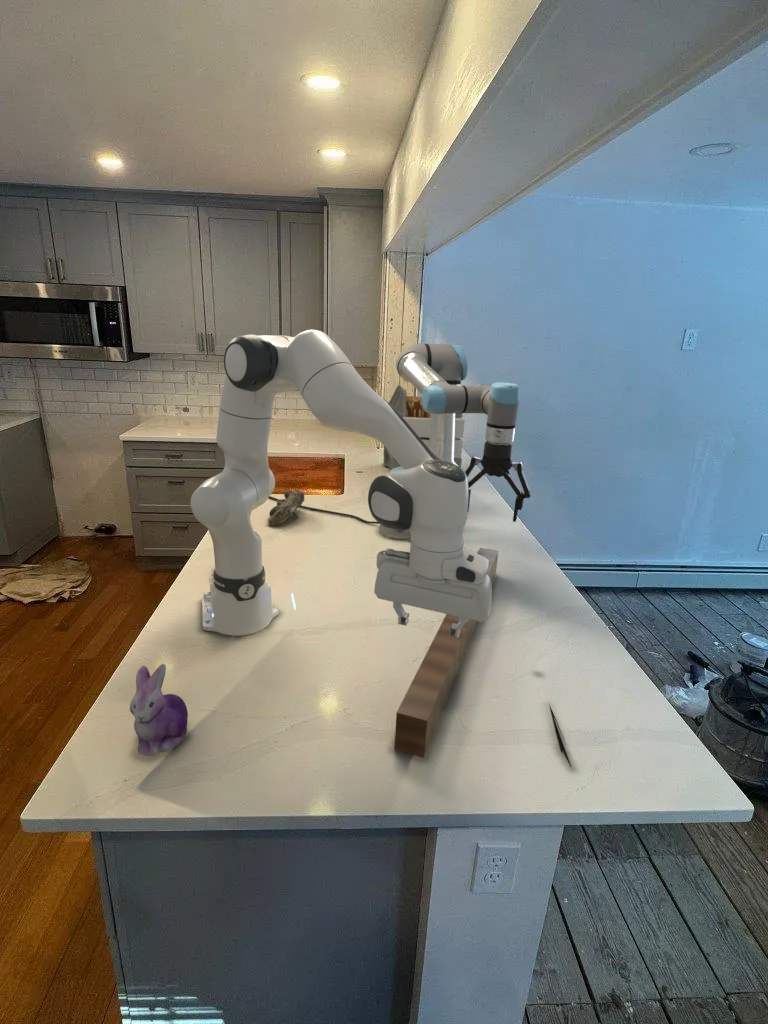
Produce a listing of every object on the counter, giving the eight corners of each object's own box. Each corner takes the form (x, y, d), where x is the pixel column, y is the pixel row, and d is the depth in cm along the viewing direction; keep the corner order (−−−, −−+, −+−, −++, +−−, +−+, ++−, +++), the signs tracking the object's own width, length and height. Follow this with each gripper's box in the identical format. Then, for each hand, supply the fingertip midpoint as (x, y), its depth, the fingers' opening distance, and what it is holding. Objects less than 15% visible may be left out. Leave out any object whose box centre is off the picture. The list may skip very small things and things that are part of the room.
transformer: (382, 463, 289) (386, 382, 275) (445, 464, 293) (451, 384, 279) (390, 482, 257) (394, 392, 243) (460, 483, 261) (468, 394, 247)
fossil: (273, 495, 220) (302, 475, 215) (290, 514, 223) (319, 494, 218) (257, 521, 200) (288, 499, 195) (275, 541, 203) (306, 520, 198)
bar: (477, 572, 173) (480, 547, 170) (495, 575, 171) (498, 550, 169) (394, 749, 102) (396, 712, 99) (424, 758, 100) (427, 720, 98)
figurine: (137, 767, 96) (127, 693, 90) (132, 728, 104) (122, 659, 99) (195, 750, 100) (189, 678, 95) (185, 714, 108) (179, 646, 103)
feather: (538, 678, 126) (544, 672, 125) (570, 771, 99) (578, 764, 99) (532, 674, 126) (537, 668, 125) (563, 766, 99) (570, 759, 98)
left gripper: (371, 553, 95) (367, 624, 100) (492, 577, 89) (481, 652, 94) (383, 540, 101) (379, 608, 106) (498, 562, 95) (488, 633, 100)
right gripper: (450, 439, 152) (443, 513, 159) (545, 450, 145) (534, 528, 152) (456, 434, 159) (449, 505, 166) (547, 444, 151) (536, 518, 159)
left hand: (428, 629), depth 100 cm, fingers open, 8 cm apart
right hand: (490, 516), depth 159 cm, fingers open, 13 cm apart
